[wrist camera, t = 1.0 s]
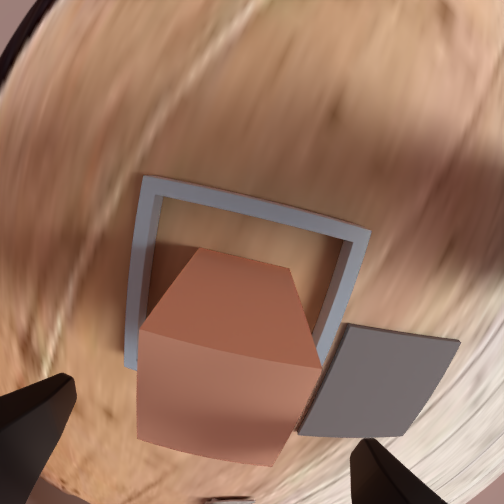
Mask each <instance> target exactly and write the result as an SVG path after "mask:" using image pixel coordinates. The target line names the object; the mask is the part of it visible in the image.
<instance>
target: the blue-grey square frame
mask: <svg viewBox="0 0 504 504" xmlns="http://www.w3.org/2000/svg"><path fill="white" fill-rule="evenodd" d="M163 196H165V197H170V198H174V199H179V200H184V201H188V202H193V203H197V204H202V205H206V206H210V207H215V208H219V209H224V210H228V211H232V212H236V213H241V214H245V215H249V216H253V217H257V218H261V219H266V220H270V221H274V222H278V223H282V224H286V225H290V226H294V227H298V228H301V229H305V230H309V231H313V232H317V233H321V234H325V235H328V236H332V237H336V238H340V239H343V240H344V241H343V244H342V248H341V251H340V254H339V257H338V261H337V264H336V267H335V270H334V273H333V276H332V279H331V282H330V285H329V288H328V291H327V294H326V297H325V300H324V303H323V306H322V308H321V311H320V314H319V317H318V320H317V322H316V325H315V328H314V330H313V333H312V338H313V341H314V344H315V347H316V350H317V353H318V356H319V359H320V363H321V366H322V365H323V363H324V361H325V359H326V356H327V354H328V352H329V349H330V347H331V345H332V342H333V340H334V337H335V335H336V332H337V330H338V327H339V325H340V322H341V320H342V317H343V315H344V312H345V309H346V307H347V304H348V301H349V299H350V296H351V293H352V290H353V287H354V285H355V282H356V279H357V276H358V273H359V270H360V267H361V264H362V261H363V258H364V255H365V252H366V249H367V245H368V242H369V239H370V236H371V232H372V231H371V230H369V229H367V228H365V227H363V226H361V225H357V224H354V223H350V222H347V221H343V220H340V219H336V218H333V217H329V216H326V215H322V214H318V213H315V212H311V211H307V210H303V209H300V208H296V207H292V206H288V205H284V204H280V203H276V202H272V201H268V200H264V199H260V198H256V197H252V196H248V195H244V194H239V193H235V192H231V191H226V190H222V189H217V188H213V187H208V186H204V185H199V184H194V183H190V182H185V181H180V180H175V179H170V178H165V177H160V176H155V175H144V176H143V180H142V186H141V191H140V197H139V202H138V208H137V215H136V221H135V228H134V235H133V242H132V250H131V259H130V268H129V278H128V289H127V302H126V319H125V343H124V367H127V368H130V369H133V370H136V371H137V360H138V340H139V329H140V327H141V326H142V324H143V323H144V321H145V320H146V313H147V303H148V294H149V285H150V277H151V269H152V262H153V255H154V248H155V241H156V235H157V229H158V223H159V217H160V212H161V206H162V201H163Z"/></svg>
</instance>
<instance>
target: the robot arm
mask: <svg viewBox="0 0 504 504" xmlns="http://www.w3.org/2000/svg"><path fill="white" fill-rule="evenodd" d="M76 399H77V394H76V388H75V381H74V379H73V377H72V376H69V375H67V374H65V373H59V374H56V375H54V376H52V377H49V378H47V379H44V380H42V381H39V382H37V383H34V384H31V385H29V386H26V387H24V388H21V389H19V390H16V391H14V392H11V393H8V394H6V395H3V396H0V504H25V503H26V501H27V499H28V497H29V495H30V493H31V491H32V489H33V487H34V485H35V483H36V481H37V480H38V478H39V476H40V474H41V472H42V470H43V468H44V466H45V465H46V463H47V461H48V459H49V457H50V455H51V454H52V452H53V450H54V448H55V447H56V445H57V443H58V441H59V439H60V437H61V435H62V433H63V430H64V428H65V426H66V423H67V421H68V419H69V416H70V414H71V412H72V409H73V407H74V405H75V403H76ZM350 475H351V499H352V504H448V503H446V502H445V501H444V500H443V499H442V500H441V498H440V497H439V496H438V495H437V494H436V493H435V492H433V491H432V490H431V489H430V488H429V487H428V486H427V485H425V484H424V483H423V482H422V481H421V480H420V479H419V478H417V477H416V476H415V475H414V474H413V473H412V472H411V471H410V470H409V469H407V468H406V467H405V466H404V465H403V464H402V463H401V462H400V461H399V460H398V459H396V458H395V457H394V456H393V455H392V454H391V453H390V452H389V451H388V450H387V449H386V448H385V447H384V446H382V445H381V444H380V443H379V442H378V441H377V440H376V439H374V438H364V439H362V440H361V441H360V442H359V444H358V445H357V446H356V448H355V449H354V450H353V452H352V453H351V456H350Z"/></svg>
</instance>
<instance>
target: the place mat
mask: <svg viewBox="0 0 504 504" xmlns="http://www.w3.org/2000/svg"><path fill="white" fill-rule="evenodd" d="M460 344H461V342H460V341H459V340H455V339H447V338H439V337H432V336H424V335H417V334H410V333H404V332H397V331H391V330H385V329H378V328H372V327H366V326H361V325H355V324H349V323H348V325H347V328H346V330H345V333H344V335H343V338H342V340H341V342H340V345H339V347H338V349H337V352H336V354H335V356H334V358H333V361H332V363H331V365H330V367H329V370H328V372H327V374H326V376H325V378H324V380H323V382H322V384H321V387H320V389H319V391H318V393H317V395H316V397H315V399H314V401H313V403H312V405H311V407H310V409H309V411H308V412H307V414H306V416H305V418H304V420H303V422H302V424H301V426H300V428H299V429H298V431H297V432H298V435H303V436H317V437H340V438H374V437H397V436H403V435H404V434H405V432H406V431H407V430H408V428H409V427H410V426H411V424H412V423H413V421H414V420H415V419H416V417H417V416H418V414H419V413H420V412H421V410H422V409H423V407H424V406H425V404H426V403H427V401H428V400H429V398H430V396H431V395H432V393H433V392H434V390H435V389H436V387H437V385H438V384H439V382H440V380H441V379H442V377H443V375H444V374H445V372H446V370H447V368H448V367H449V365H450V363H451V361H452V359H453V357H454V356H455V354H456V352H457V350H458V348H459V346H460Z"/></svg>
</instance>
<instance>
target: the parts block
mask: <svg viewBox="0 0 504 504" xmlns="http://www.w3.org/2000/svg"><path fill="white" fill-rule="evenodd" d="M321 371H322V366H321V363H320V359H319V356H318V353H317V350H316V347H315V344H314V341H313V338H312V335H311V332H310V329H309V325H308V322H307V319H306V316H305V313H304V310H303V307H302V304H301V301H300V299H299V296H298V293H297V290H296V287H295V284H294V281H293V278H292V275H291V272H290V269H289V268H284V267H280V266H276V265H272V264H267V263H263V262H259V261H255V260H250V259H246V258H242V257H238V256H234V255H229V254H225V253H221V252H217V251H213V250H208V249H204V248H200V247H199V249H198V250H197V251H196V253H195V254H194V255H193V256H192V258H191V259H190V260H189V262H188V263H187V264H186V266H185V267H184V268H183V270H182V271H181V272H180V274H179V275H178V276H177V278H176V279H175V280H174V282H173V283H172V284H171V286H170V287H169V288H168V290H167V291H166V293H165V294H164V295H163V297H162V298H161V299H160V301H159V302H158V303H157V305H156V306H155V308H154V309H153V310H152V312H151V313H150V315H149V316H148V317H147V319H146V320H145V321H144V323H143V324H142V326H141V327H140V329H139V340H138V360H137V439H139V440H143V441H146V442H149V443H152V444H156V445H159V446H163V447H166V448H170V449H174V450H177V451H181V452H186V453H190V454H194V455H199V456H203V457H208V458H213V459H219V460H224V461H230V462H237V463H243V464H251V465H259V466H268V467H272V466H273V464H274V463H275V461H276V459H277V458H278V456H279V454H280V452H281V451H282V449H283V447H284V445H285V443H286V442H287V440H288V438H289V436H290V434H291V432H292V430H293V429H294V427H295V425H296V423H297V421H298V419H299V417H300V415H301V413H302V411H303V409H304V407H305V405H306V403H307V401H308V399H309V397H310V395H311V393H312V391H313V389H314V387H315V385H316V382H317V380H318V378H319V376H320V374H321Z"/></svg>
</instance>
